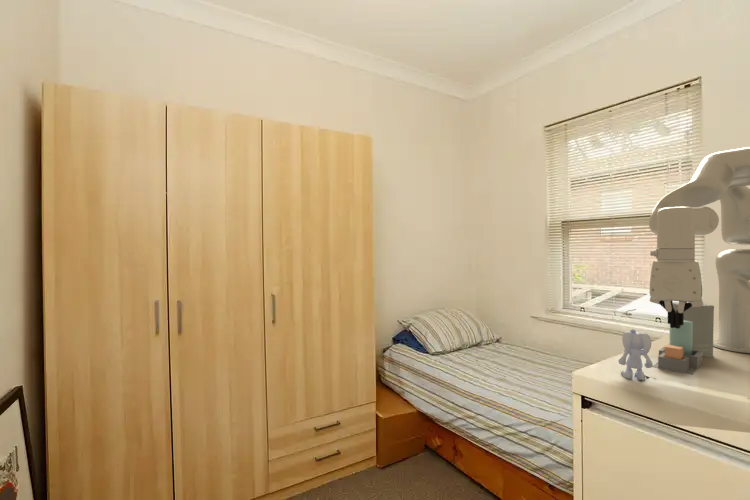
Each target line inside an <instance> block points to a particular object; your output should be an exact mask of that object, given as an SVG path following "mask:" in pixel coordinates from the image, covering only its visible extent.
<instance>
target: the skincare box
mask: <svg viewBox="0 0 750 500" xmlns="http://www.w3.org/2000/svg"><path fill="white" fill-rule="evenodd" d="M687 303H688V302H687ZM678 304H679V301H673V306H674V309H675V311H676V310H677V309H678ZM714 313H715V305H713V304H712V305H711V304H708V303H704V302H703V305H702V306H700V307H690V308H689V309H687V310H686V311H684V320H685V321H691V322H693V337H692V350H697V351H703V355H702V357H710V358H711V357H714V346H713V341H714V327H715V326H714V322H715V321H714V315H715V314H714Z"/></svg>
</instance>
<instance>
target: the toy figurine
mask: <svg viewBox="0 0 750 500" xmlns="http://www.w3.org/2000/svg"><path fill="white" fill-rule="evenodd" d="M621 340H622V345H623V348H624V350H623V355H622V356H621V357H620V358H619V359H618V360H617V361H618V363H619V365H621V366H625V365H626V368H625V369H623V370H621V372H620V375H621V376H622V377H623V378H625V379H628V380H632V379H633V378H634V377H635V378H636V380H638V381H642V382H643V381H644V382H645V380H646V374H645V373H644V371H643V369H642V368H643V361H642V360H643V359H642V358H641V356H643V357H644V358H645V363H644V367H645V368H646V369H651V368H653V367H652V366H654V364H653V361H652V359H651V358H650V357H649V355H648V353H650V350H651V348H652V339H651V337H650V335H649V334H648V333H646V332H638V331H636V330H635V329H633V328H632V329H630V330H629V331H623V332H622V338H621ZM633 369H635V371H636V372H635V373H633ZM633 375H634V376H633Z"/></svg>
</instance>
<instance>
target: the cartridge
mask: <svg viewBox="0 0 750 500" xmlns="http://www.w3.org/2000/svg"><path fill="white" fill-rule="evenodd" d="M692 337H693V322H691V321H685V320H684V324H683V325H681V327H680V328H679V329H677V328H675V327H674V328H671V327H670V326H669V344H668V345H673V346H679V347H683V354H687V355H692Z"/></svg>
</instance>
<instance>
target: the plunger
mask: <svg viewBox="0 0 750 500" xmlns="http://www.w3.org/2000/svg"><path fill="white" fill-rule="evenodd" d="M664 346H665V357H669V358H674V359H680V360H682V359H683V347H679V346H673V345H669V344H667V345H664Z"/></svg>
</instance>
